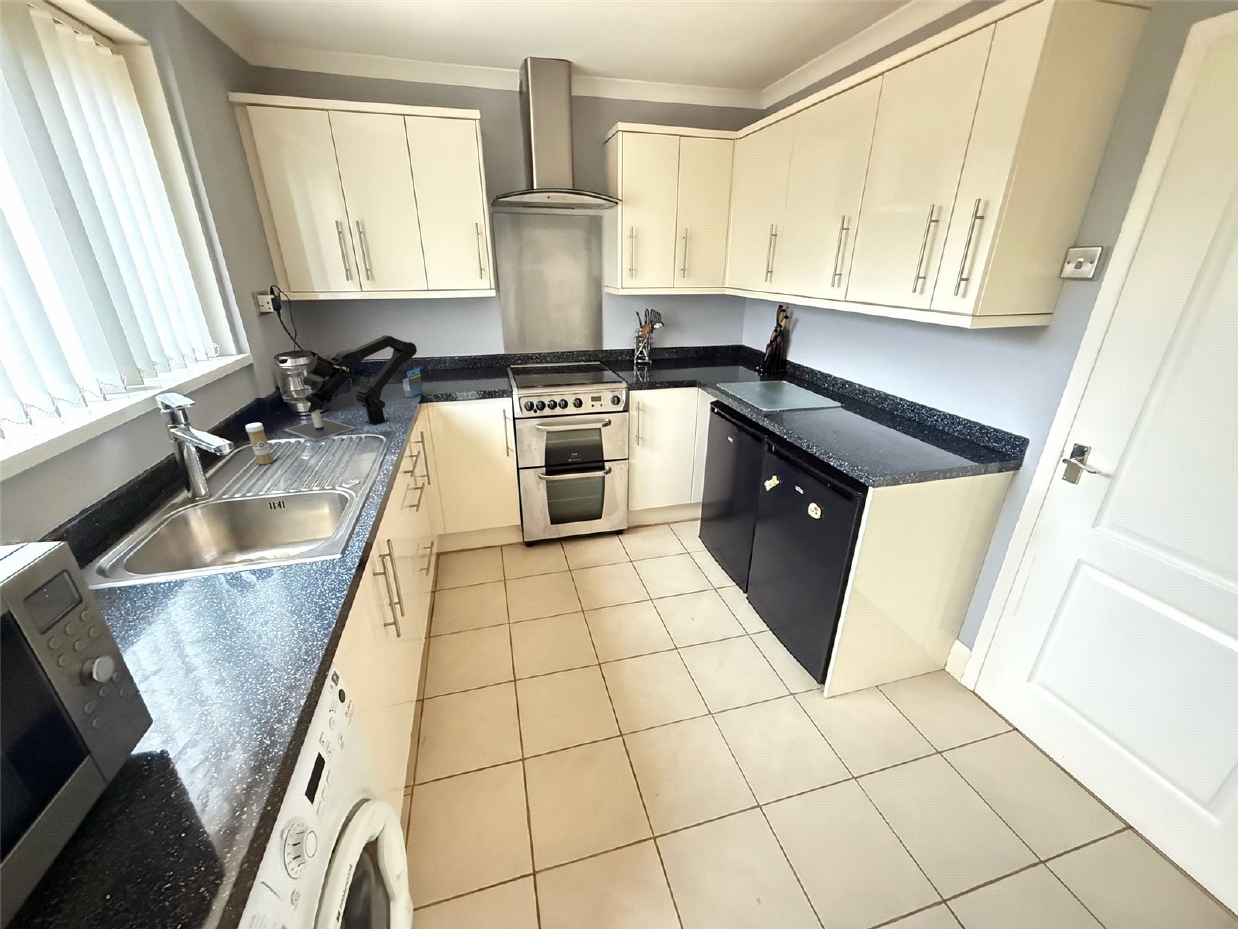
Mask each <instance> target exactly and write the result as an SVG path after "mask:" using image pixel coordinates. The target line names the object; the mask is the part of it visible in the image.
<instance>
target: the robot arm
mask: <svg viewBox="0 0 1238 929" xmlns="http://www.w3.org/2000/svg"><path fill="white" fill-rule="evenodd" d="M387 348H391V349H392V355H391V357H390V358H389V360H387V362H386V363H385V364H384V365H383V367H382V368H381V369H380V370H379V371H378V373H377V375H376V376H375V377H374V378H373V379H372V381H371V382H370V383H368V384H367V383H364V382H363V383H362V384H361V385H360V387H359V388H358V389H356V394H355V399H356V401H357V402H358V403H359V404H360V405H361V406H362V407H363V408H365V410H366V415H367V420H365V423H367V424H370V425H374V426H376V425H378V424H382V423H385V422H388V421H389V418H385V414H384V409H385V408H386V402H385V401H384V400H382V399H381V397H382V393H383V392H382V391H383V389H384V388H385V387H386V385H387V384H388V383H389V381H390V380H391V379H392V378H393V376H394V375H395V374H396V373H397V371H398V370H399V368H401V366H402V365H403V364H404V363H405V362H408V361H409V360H411V359H413V357H414V356H416V355H417V352H418V351H417V350H418V348H417V346H416V344H415V343H413V342H411V341H407V340H401V339H399V338H396V337H394V336H392V335H386V334H384V335H381V336H380V337H378V338H376V339H374V340H371V341H370V342H367V343H364V344H363V345H360V346H358V347H355V348H349V349H345V350H344V349H343V350H341V351H338V352H336V353H335V355H334V356H333V357H331V358H329V359H326V358H323V356H320V355H317V354H315V355H314V357H313V358H311V360H310V361H308V363H307V367H306V370H307V372H308V374H306V375H305V376H304V377H303V379H302V380H301V381H302V385H303V386H306V387H310V388H312V389H314V391H315V392H314V391H312V392H313V393H310V394H309V395H307V397H306V396H305V398H304V400H305V401H306V402H307V401H308V402H309V403H311V404H310V407H309V406H308V409H307V412H308V413H309V414H311V413H312V412H314V411H316V410H318V409H319V410H322V409H323V408H324V407H326V406H327V404H329V403H332V401H334V399H333V398H337V397H338V396H339V395H340V394H341V389H342V388H343V385H344V384H345V383H346V382H347V380H348V379H350V380H352V381H355V380H356V378H355V375H354V374H355V373H354V371H353V368H355V367H357V366H358V365H360V364H361V363H362V362H363V360H364V359H366V358H368V357H370V356H372V355H374V354H377V353H378V352H380V351H382V350H385V349H387ZM346 368H347V369H351V370H347V369H346ZM308 402H307V403H308Z"/></svg>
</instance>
